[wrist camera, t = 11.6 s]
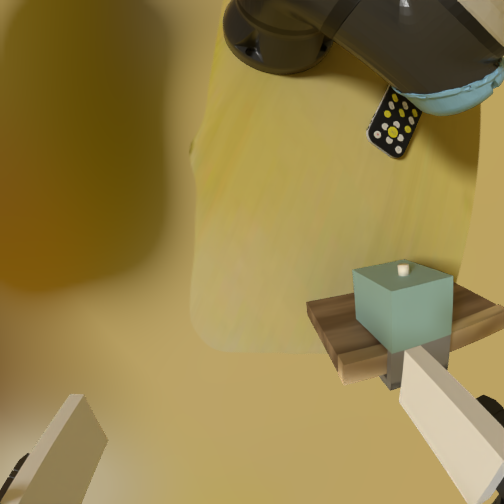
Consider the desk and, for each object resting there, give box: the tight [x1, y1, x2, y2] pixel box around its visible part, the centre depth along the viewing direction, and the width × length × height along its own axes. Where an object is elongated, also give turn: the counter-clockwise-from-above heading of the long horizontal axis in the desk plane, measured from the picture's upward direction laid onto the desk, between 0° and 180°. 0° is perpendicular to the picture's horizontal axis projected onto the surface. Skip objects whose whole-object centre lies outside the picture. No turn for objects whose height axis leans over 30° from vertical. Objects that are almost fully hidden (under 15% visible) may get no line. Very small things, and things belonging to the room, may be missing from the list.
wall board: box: [306, 282, 504, 385], centre depth 35 cm, size 2×22×17 cm, turn 99°
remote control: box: [366, 84, 422, 158], centre depth 37 cm, size 6×13×2 cm, turn 152°
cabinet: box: [352, 259, 453, 390], centre depth 30 cm, size 11×7×10 cm, turn 9°
